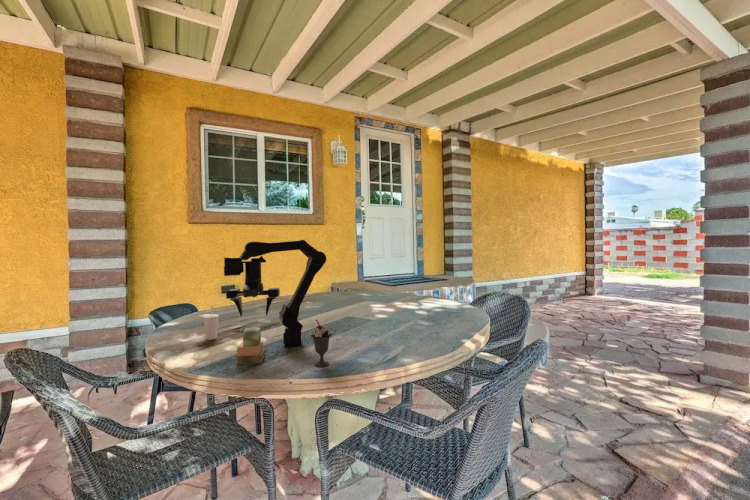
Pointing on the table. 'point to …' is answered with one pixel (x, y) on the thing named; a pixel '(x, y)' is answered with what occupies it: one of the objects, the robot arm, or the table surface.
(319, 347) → the sundae
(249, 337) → the cube
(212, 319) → the smoothie
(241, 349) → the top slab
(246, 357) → the bottom slab
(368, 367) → the table surface
